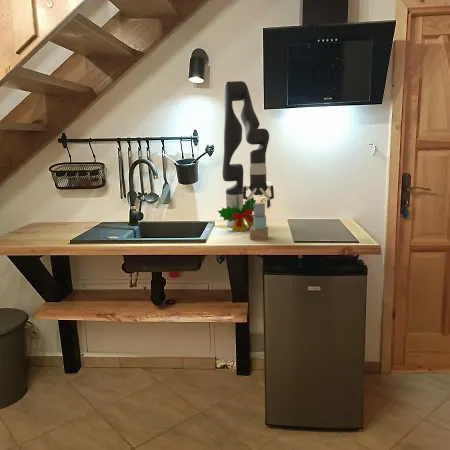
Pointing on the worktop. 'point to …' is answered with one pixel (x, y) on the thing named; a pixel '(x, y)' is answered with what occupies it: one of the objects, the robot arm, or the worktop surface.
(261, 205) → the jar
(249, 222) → the ornament
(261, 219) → the cube
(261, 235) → the plinth
